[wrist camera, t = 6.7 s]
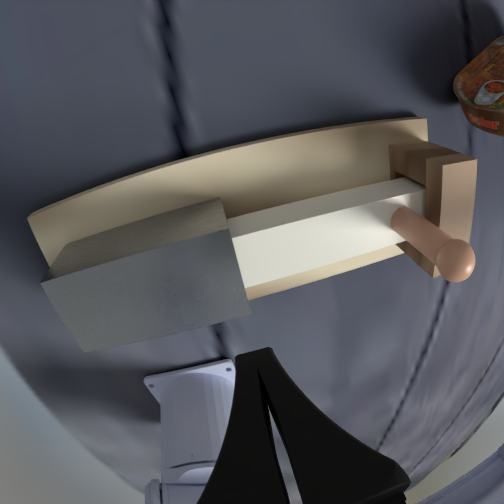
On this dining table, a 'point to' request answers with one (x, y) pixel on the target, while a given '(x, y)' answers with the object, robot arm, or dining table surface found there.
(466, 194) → the socket block
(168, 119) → the dining table surface
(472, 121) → the tin
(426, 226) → the white bar
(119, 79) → the dining table surface
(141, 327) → the grey rectangular sleeve
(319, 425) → the robot arm
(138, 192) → the base board
